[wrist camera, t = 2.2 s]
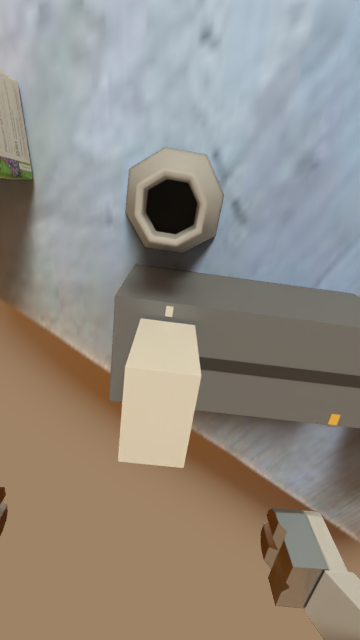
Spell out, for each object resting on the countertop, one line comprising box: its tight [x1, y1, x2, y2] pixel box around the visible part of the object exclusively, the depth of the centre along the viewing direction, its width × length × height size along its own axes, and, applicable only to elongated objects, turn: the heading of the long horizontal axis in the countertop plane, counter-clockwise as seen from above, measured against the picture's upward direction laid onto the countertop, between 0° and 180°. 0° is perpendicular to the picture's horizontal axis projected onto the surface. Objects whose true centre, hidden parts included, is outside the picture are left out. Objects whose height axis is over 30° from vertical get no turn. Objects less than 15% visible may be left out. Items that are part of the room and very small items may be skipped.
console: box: [109, 265, 360, 428], centre depth 21 cm, size 18×7×8 cm, turn 82°
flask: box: [126, 147, 224, 253], centre depth 17 cm, size 7×7×10 cm
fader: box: [118, 318, 201, 468], centre depth 15 cm, size 3×5×5 cm, turn 172°
